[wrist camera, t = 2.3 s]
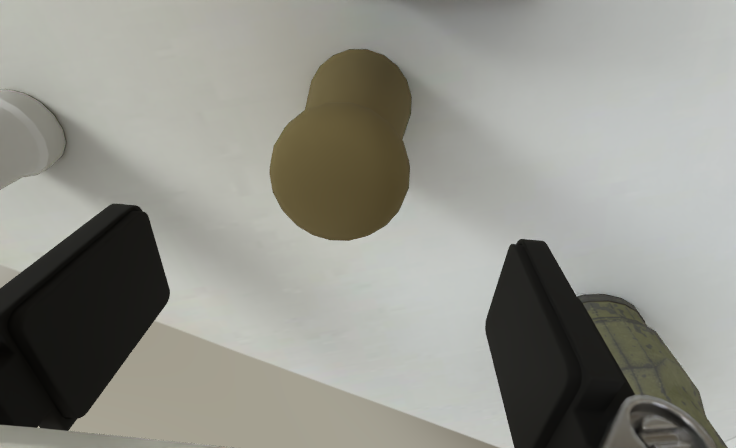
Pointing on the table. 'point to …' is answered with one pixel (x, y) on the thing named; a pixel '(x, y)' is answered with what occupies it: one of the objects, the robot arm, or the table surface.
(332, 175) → the cork
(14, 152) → the bottle
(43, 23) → the table surface
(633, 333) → the thermos
